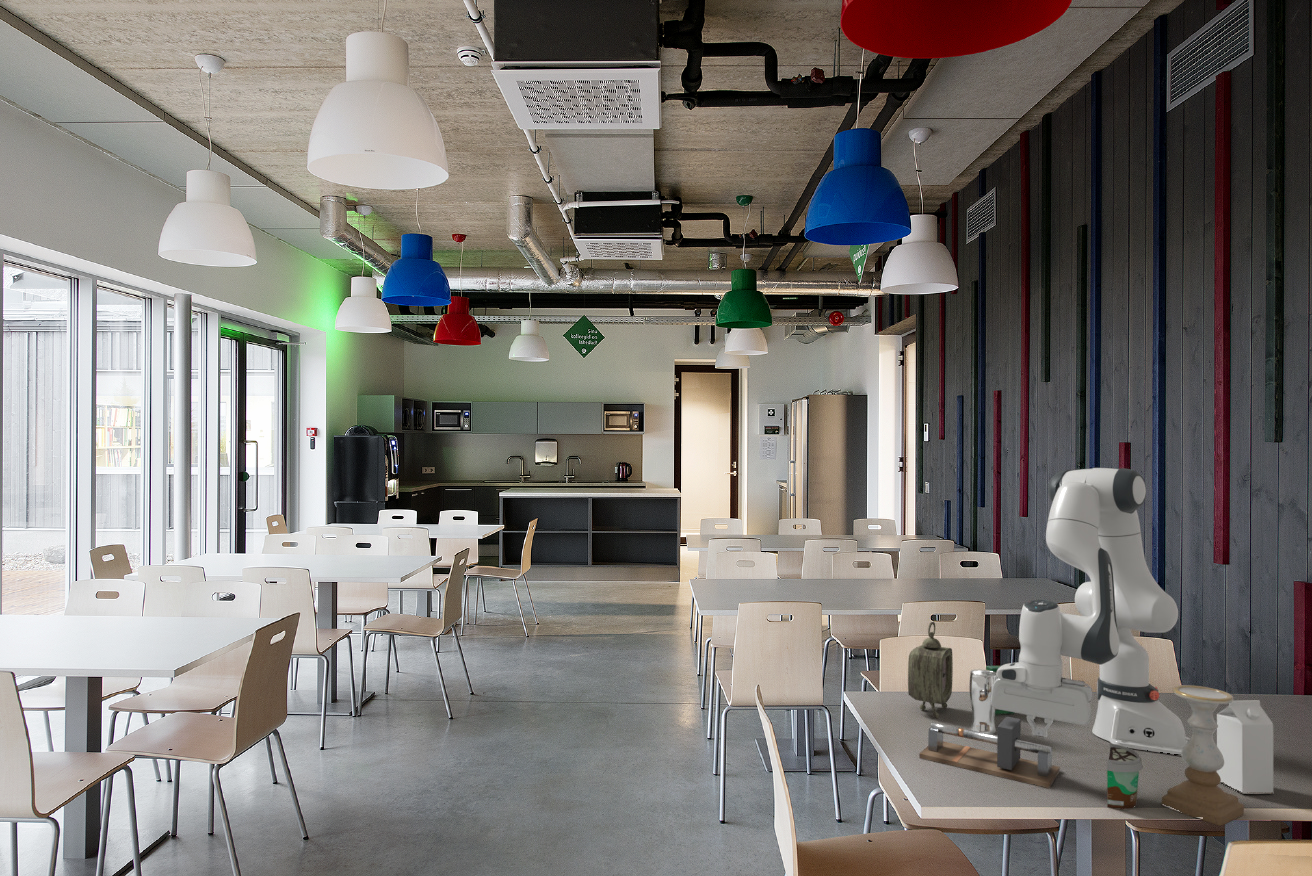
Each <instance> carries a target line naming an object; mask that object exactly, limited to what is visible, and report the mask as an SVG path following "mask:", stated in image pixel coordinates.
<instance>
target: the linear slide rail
mask: <svg viewBox="0 0 1312 876" xmlns="http://www.w3.org/2000/svg"><path fill="white" fill-rule="evenodd" d="M944 734H946V735H950V736H955V737H959V738H965V739H968V740H973V741H978V742H982V743H988V744H993V745H996V746H997V735H996V734H987V733H982V732H977V731H973V730H971V729H968V728H967V729H966V728H961V727H957V726H952V725H947V724H943V723H938V722H934V721H932V722H931V723H930V727H929V728H928V733H927V736H928V737H927V738H928V742H927V745H928V750H929V751H934V752H938V751H939V750H940V749H941V748H942V747H943V741H944ZM1015 749H1019V750H1020V751H1025V752H1029V753H1030V752H1031V753H1034V754H1037V762H1038V775H1039V776H1043V777H1048V776H1049V774H1050V773H1051V771H1052V765H1053V748H1052V747H1051V746H1049V745H1046V744H1045V745H1044V744H1040V743H1034V742H1030V741H1024V740H1016V739H1015Z"/></svg>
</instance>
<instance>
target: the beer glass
mask: <svg viewBox="0 0 1312 876" xmlns="http://www.w3.org/2000/svg"><path fill="white" fill-rule="evenodd" d="M969 673H970V674H969V686H968V687H969V688H968V690H969V700H970V704H971V711H972V720H971V724H970V730H973V731H977V732H982V733H987V734H992V735H995V733H996V732H997V727H996V722H995V716H996V715H995V708H994V707H993V706H992V704H991V695H992V688H993V684H994V682H995V681H996V680H997V673H995V672H993V671H988V670H986V669H980V668H979V669H971V670H970V672H969Z"/></svg>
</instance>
